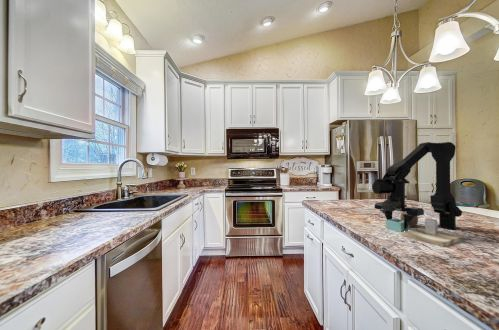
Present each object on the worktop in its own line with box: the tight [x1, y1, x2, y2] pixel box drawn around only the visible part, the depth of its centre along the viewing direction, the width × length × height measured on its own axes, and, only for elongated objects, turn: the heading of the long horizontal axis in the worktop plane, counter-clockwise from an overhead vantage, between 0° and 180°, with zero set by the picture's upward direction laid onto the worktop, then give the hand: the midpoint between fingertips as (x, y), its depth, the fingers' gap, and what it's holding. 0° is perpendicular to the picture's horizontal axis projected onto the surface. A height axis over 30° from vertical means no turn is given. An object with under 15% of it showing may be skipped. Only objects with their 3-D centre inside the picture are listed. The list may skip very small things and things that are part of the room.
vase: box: [400, 206, 419, 228], centre depth 105 cm, size 7×7×9 cm
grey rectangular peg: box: [424, 217, 438, 236], centre depth 88 cm, size 2×3×6 cm, turn 26°
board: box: [401, 226, 464, 248], centre depth 88 cm, size 15×14×2 cm
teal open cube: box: [385, 217, 410, 233], centre depth 100 cm, size 6×6×4 cm
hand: (397, 227), depth 100 cm, fingers closed on teal open cube, 6 cm apart
